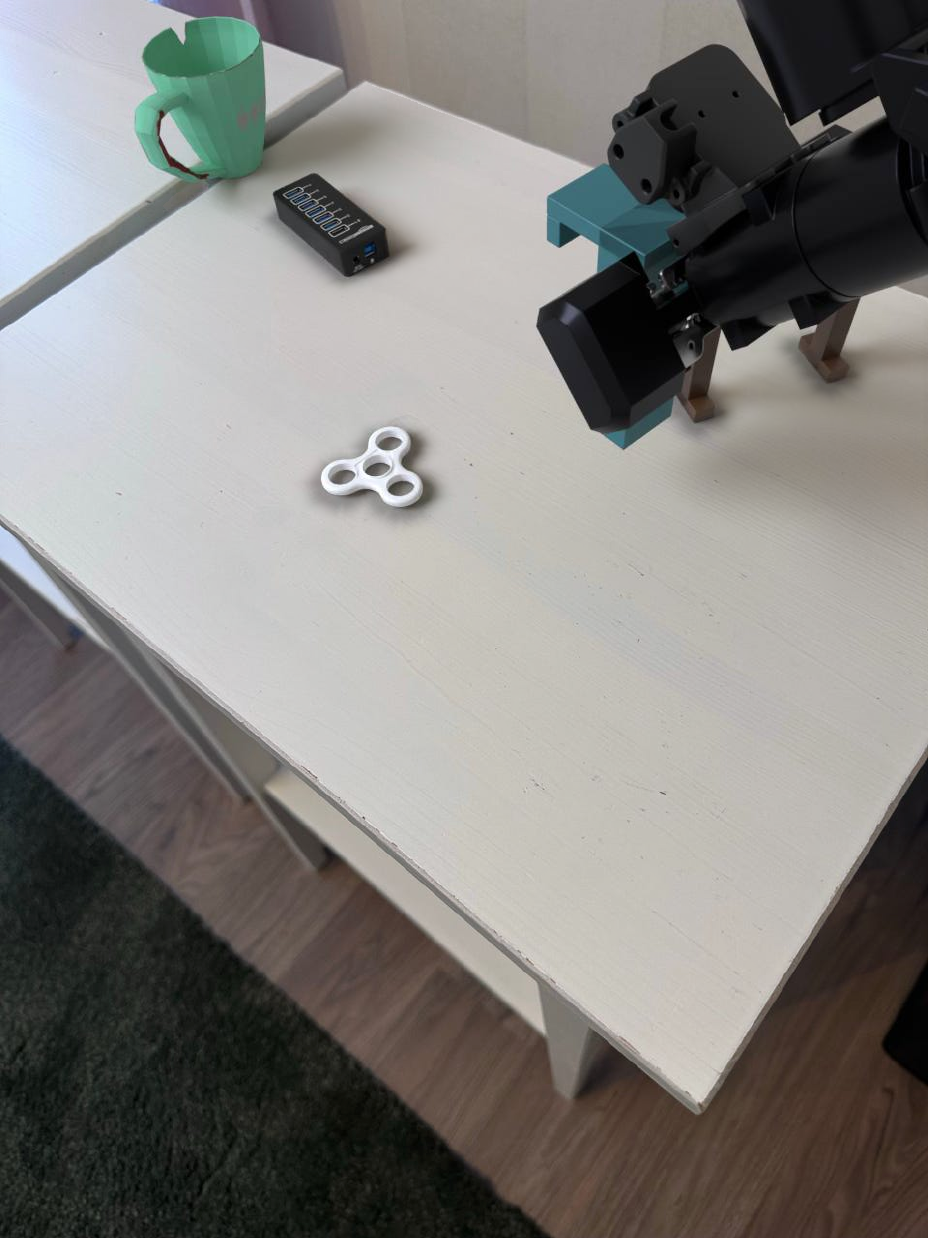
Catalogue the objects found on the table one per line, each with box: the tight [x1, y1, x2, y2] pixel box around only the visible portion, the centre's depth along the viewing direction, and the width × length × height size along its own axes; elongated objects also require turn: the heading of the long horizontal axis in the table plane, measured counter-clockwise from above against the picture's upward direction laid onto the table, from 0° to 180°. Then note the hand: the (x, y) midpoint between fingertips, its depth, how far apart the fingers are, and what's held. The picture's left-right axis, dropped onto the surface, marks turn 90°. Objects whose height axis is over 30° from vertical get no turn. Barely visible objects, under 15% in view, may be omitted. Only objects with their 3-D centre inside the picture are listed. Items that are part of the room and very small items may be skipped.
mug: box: [133, 15, 267, 184], centre depth 77 cm, size 15×10×10 cm
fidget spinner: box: [320, 425, 424, 508], centre depth 60 cm, size 7×6×1 cm
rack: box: [675, 297, 862, 424], centre depth 57 cm, size 4×12×14 cm, turn 108°
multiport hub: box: [272, 172, 390, 277], centre depth 74 cm, size 4×11×2 cm, turn 37°
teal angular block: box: [546, 162, 688, 451], centre depth 49 cm, size 7×4×13 cm, turn 40°
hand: (621, 318), depth 49 cm, fingers closed on teal angular block, 4 cm apart
